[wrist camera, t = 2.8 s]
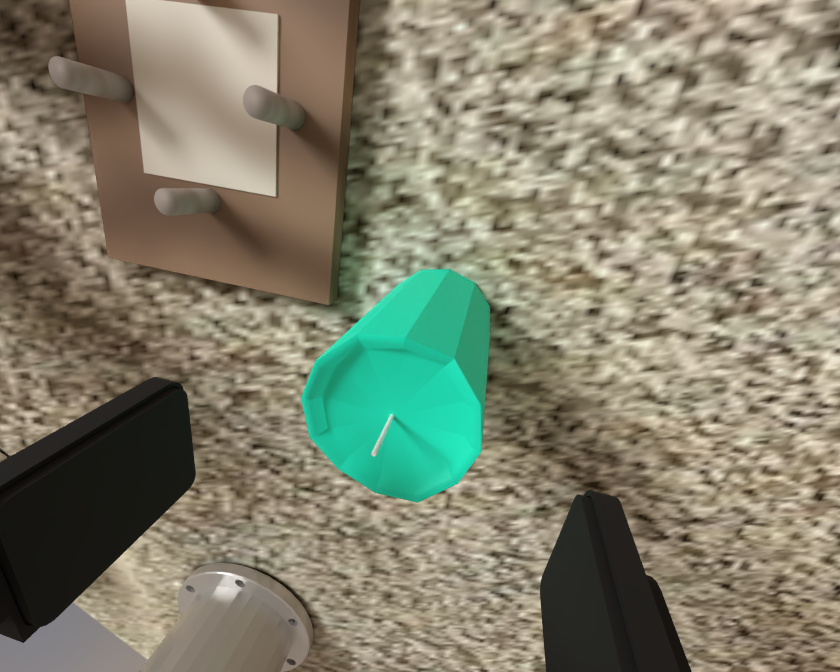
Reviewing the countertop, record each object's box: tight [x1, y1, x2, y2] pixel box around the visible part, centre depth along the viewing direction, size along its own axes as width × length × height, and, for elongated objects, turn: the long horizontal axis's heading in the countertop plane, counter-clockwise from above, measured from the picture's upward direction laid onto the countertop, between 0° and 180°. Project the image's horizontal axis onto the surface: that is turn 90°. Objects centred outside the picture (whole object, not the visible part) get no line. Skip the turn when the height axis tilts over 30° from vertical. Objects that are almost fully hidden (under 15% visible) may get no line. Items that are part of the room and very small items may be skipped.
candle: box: [301, 269, 490, 502], centre depth 16 cm, size 6×6×12 cm
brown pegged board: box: [48, 0, 360, 305], centre depth 18 cm, size 18×14×4 cm
